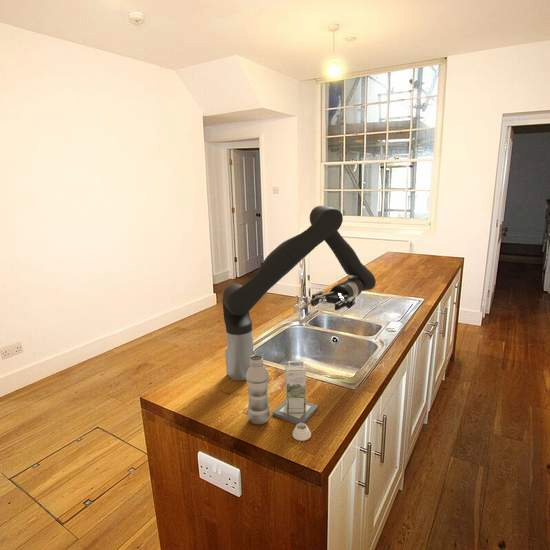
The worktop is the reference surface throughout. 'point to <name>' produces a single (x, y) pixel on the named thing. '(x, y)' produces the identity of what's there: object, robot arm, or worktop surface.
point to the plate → (295, 417)
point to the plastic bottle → (258, 391)
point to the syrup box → (295, 386)
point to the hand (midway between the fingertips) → (323, 305)
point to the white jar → (301, 432)
